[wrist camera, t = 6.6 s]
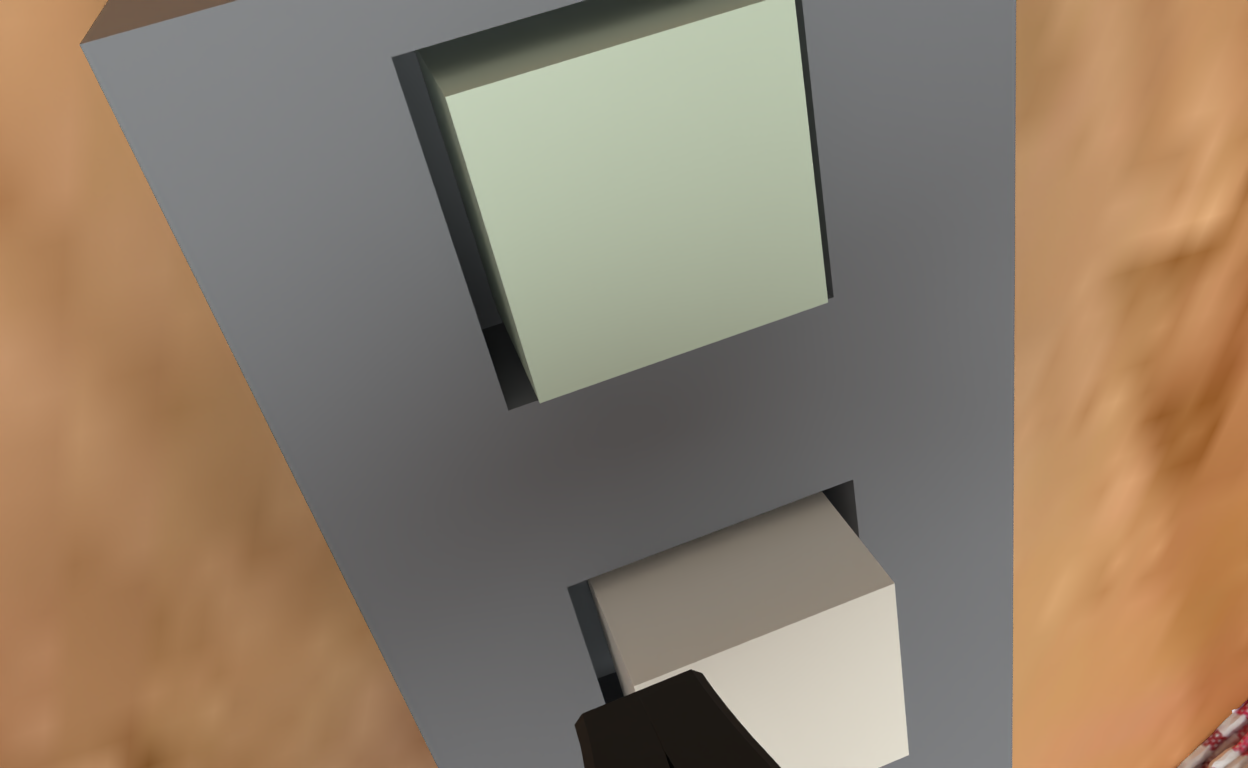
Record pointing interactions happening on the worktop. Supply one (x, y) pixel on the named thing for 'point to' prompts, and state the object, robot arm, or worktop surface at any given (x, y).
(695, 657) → the cream button
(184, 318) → the worktop surface
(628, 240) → the sage button
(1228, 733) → the dish towel
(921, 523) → the button console
